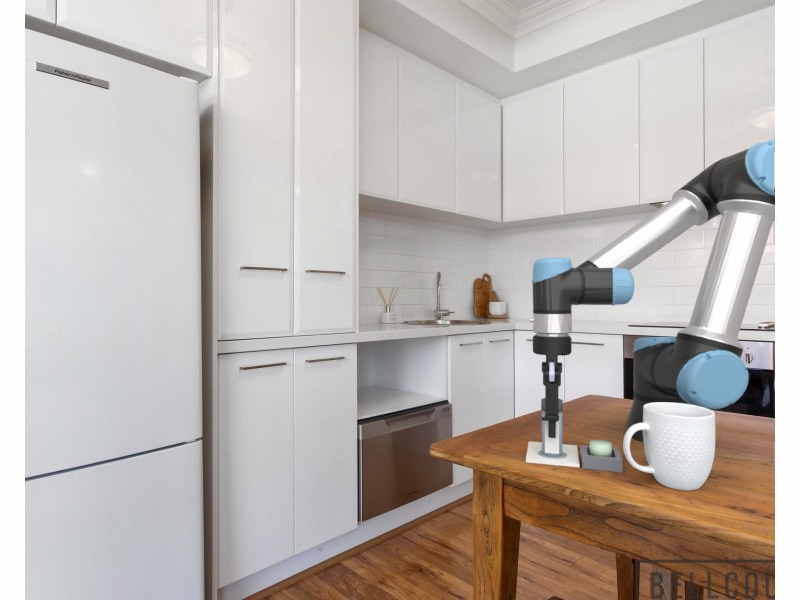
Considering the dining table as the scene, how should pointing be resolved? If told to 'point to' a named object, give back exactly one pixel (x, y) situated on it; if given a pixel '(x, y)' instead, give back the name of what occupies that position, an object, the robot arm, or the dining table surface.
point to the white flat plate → (566, 459)
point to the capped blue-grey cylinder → (560, 409)
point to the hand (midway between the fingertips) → (552, 449)
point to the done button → (600, 448)
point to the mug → (675, 443)
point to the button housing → (601, 460)
